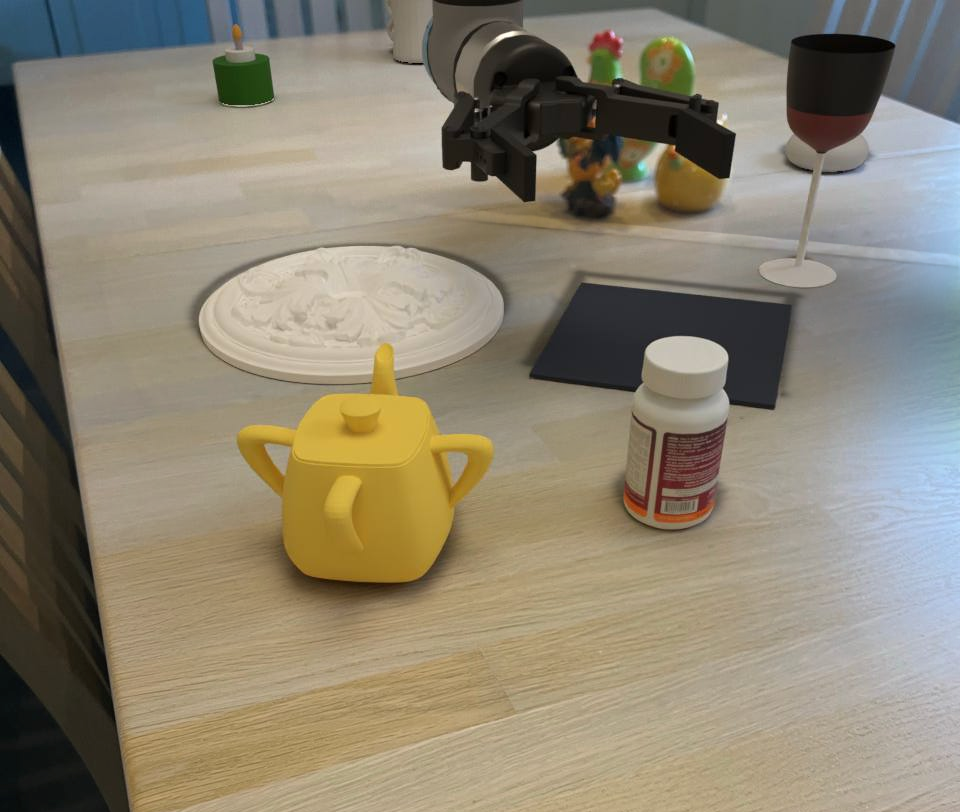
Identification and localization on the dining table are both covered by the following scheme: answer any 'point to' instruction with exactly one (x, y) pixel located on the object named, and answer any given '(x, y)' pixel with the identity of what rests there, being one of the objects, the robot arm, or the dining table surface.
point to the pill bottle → (677, 433)
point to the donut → (828, 154)
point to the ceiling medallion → (350, 314)
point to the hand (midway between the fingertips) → (631, 167)
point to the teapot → (366, 482)
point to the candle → (243, 74)
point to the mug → (408, 27)
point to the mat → (660, 314)
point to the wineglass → (828, 120)
